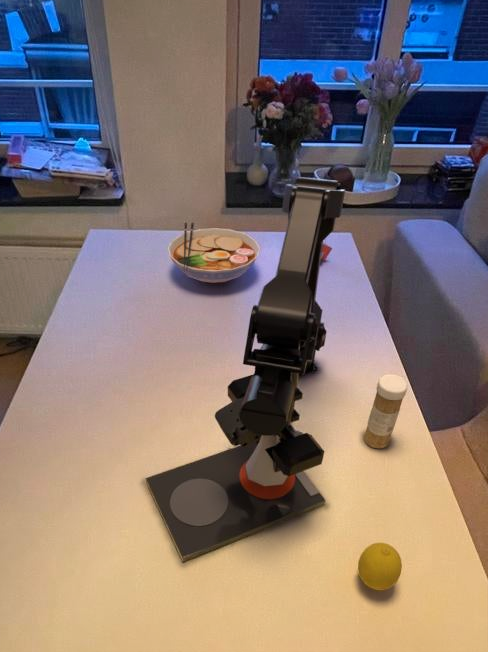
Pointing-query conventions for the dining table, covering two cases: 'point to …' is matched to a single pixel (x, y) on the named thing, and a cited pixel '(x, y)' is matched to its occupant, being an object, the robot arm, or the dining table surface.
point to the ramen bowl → (213, 253)
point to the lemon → (380, 566)
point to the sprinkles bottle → (385, 410)
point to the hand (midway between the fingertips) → (268, 458)
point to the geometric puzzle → (325, 252)
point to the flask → (264, 464)
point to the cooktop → (225, 501)
